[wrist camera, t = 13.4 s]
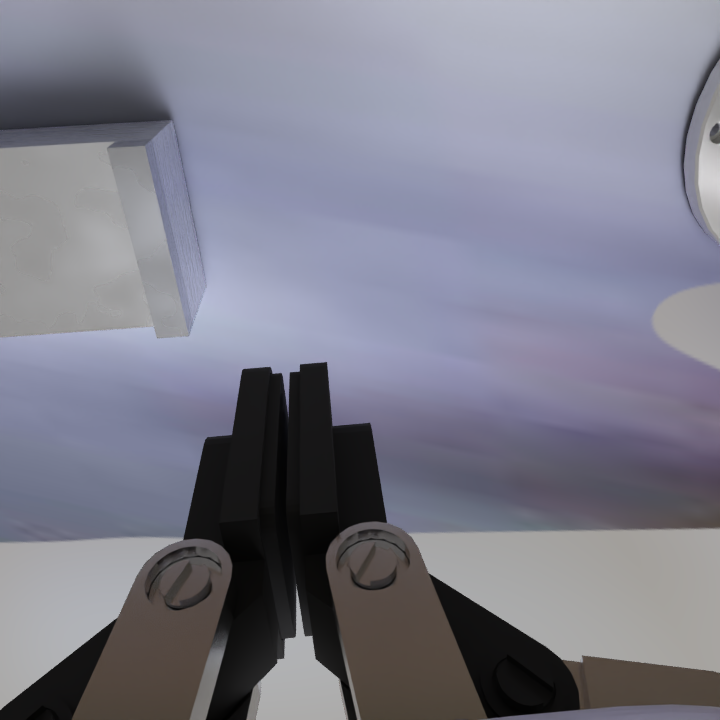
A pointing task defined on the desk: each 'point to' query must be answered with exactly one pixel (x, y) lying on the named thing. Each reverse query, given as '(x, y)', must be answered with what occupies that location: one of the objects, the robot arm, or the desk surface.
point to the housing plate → (96, 231)
